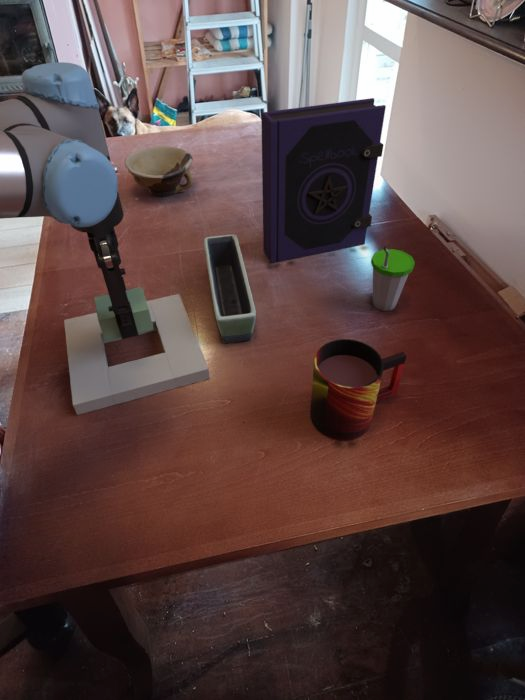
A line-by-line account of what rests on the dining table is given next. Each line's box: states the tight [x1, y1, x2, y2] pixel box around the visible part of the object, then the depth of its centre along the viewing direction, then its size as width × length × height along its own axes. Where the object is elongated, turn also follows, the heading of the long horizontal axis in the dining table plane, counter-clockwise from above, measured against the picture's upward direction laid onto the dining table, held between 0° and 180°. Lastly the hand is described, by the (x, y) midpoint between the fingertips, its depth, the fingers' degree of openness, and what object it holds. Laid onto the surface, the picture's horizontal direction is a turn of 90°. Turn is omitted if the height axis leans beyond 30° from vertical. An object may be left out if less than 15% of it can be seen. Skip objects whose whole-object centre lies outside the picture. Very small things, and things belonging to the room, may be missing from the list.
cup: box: [370, 246, 416, 312], centre depth 90 cm, size 8×8×15 cm
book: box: [260, 97, 387, 264], centre depth 100 cm, size 24×6×30 cm, turn 109°
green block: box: [93, 286, 154, 341], centre depth 80 cm, size 8×6×4 cm
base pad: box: [63, 293, 211, 416], centre depth 85 cm, size 22×22×2 cm
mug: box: [309, 338, 407, 442], centre depth 72 cm, size 10×14×12 cm
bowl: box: [124, 145, 194, 198], centre depth 128 cm, size 18×18×10 cm
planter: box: [203, 233, 257, 344], centre depth 94 cm, size 28×7×7 cm, turn 10°
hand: (126, 322), depth 81 cm, fingers closed on green block, 6 cm apart
